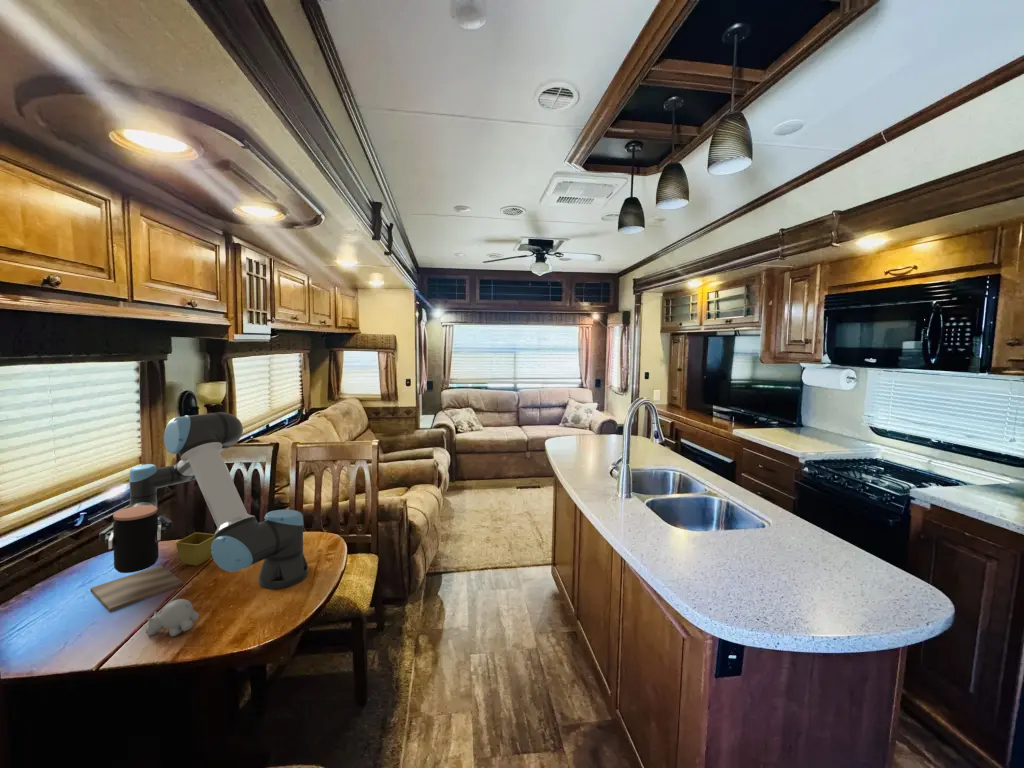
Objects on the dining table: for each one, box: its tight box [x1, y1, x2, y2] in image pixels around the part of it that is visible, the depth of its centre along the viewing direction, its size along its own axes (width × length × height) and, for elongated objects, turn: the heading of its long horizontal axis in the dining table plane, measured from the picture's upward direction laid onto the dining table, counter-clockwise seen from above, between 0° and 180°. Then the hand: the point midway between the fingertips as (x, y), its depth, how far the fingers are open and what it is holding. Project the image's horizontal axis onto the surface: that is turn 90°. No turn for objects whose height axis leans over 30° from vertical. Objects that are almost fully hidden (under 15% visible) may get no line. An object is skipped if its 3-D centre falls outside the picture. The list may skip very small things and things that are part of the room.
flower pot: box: [175, 532, 215, 567], centre depth 153 cm, size 9×9×9 cm
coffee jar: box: [112, 505, 159, 574], centre depth 135 cm, size 11×11×18 cm
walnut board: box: [90, 564, 184, 613], centre depth 136 cm, size 18×18×1 cm
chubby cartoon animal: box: [143, 598, 200, 638], centre depth 116 cm, size 7×12×8 cm, turn 102°
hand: (135, 540), depth 131 cm, fingers closed on coffee jar, 11 cm apart
